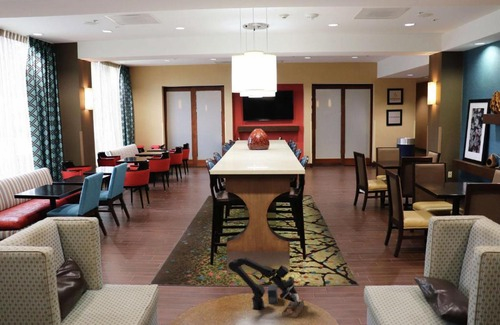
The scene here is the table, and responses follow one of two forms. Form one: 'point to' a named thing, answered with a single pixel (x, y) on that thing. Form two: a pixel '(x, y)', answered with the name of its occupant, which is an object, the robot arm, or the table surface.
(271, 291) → the small box
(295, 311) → the divided wooden tray
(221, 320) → the table surface
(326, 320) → the table surface
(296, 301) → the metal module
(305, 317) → the table surface
